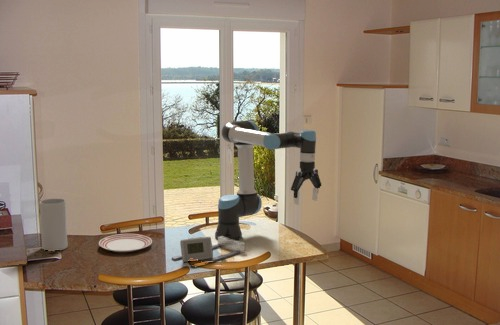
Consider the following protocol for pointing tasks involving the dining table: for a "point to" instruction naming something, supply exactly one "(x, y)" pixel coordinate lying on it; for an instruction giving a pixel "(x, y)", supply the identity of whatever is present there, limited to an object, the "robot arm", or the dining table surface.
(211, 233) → the dining table surface
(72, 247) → the dining table surface
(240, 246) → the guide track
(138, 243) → the dinner plate
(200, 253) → the digital clock
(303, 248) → the dining table surface
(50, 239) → the cylinder vase
